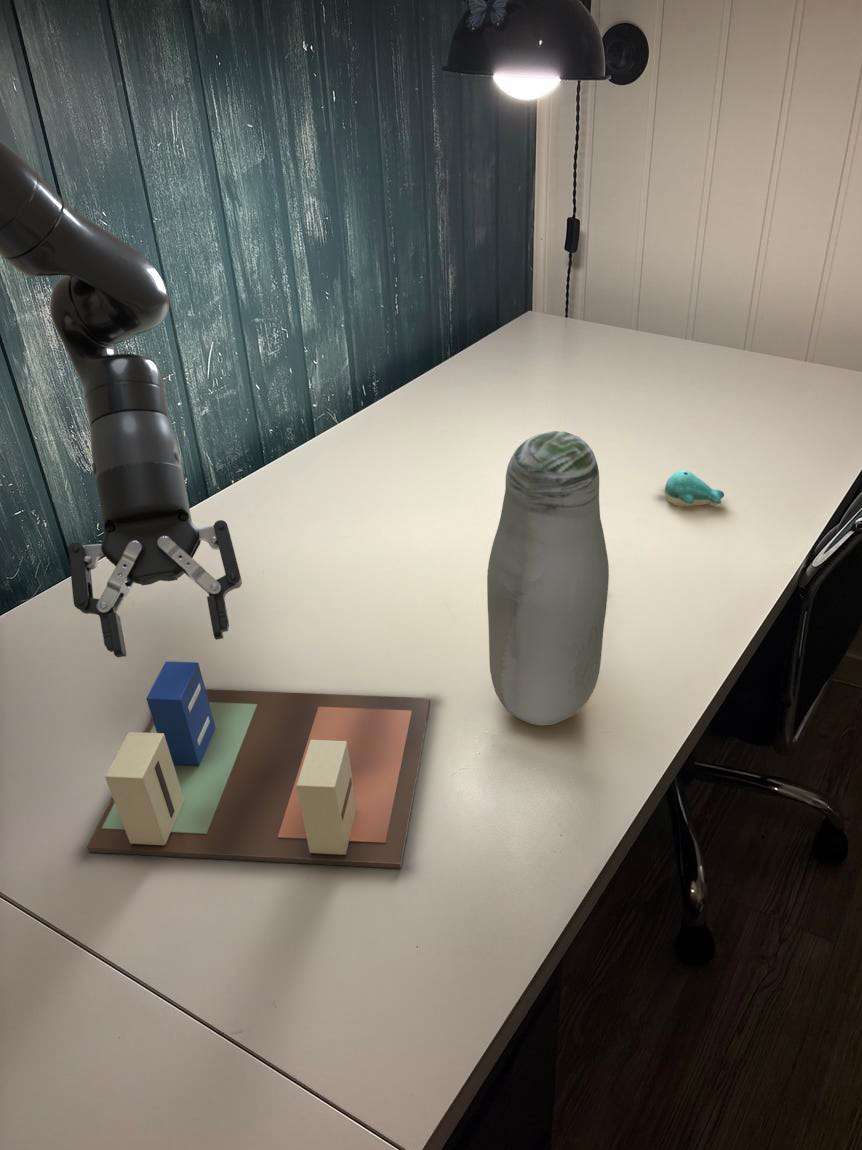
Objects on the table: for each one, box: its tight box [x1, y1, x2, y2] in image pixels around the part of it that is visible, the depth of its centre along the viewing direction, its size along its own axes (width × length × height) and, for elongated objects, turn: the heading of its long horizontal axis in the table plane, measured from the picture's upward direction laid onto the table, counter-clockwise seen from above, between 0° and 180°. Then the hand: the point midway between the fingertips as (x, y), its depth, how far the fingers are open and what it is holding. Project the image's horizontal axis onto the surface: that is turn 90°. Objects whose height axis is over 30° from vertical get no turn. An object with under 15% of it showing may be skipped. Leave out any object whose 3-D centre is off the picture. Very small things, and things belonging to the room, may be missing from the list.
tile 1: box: [104, 731, 184, 845], centre depth 77 cm, size 3×5×8 cm, turn 176°
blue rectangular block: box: [146, 660, 215, 766], centre depth 84 cm, size 3×5×8 cm, turn 175°
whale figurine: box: [664, 470, 725, 507], centre depth 120 cm, size 6×7×4 cm
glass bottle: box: [486, 430, 610, 726], centre depth 82 cm, size 10×10×28 cm
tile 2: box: [296, 740, 357, 855], centre depth 76 cm, size 3×5×8 cm, turn 175°
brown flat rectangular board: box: [86, 688, 431, 869], centre depth 85 cm, size 26×20×1 cm
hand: (170, 647), depth 84 cm, fingers open, 8 cm apart
